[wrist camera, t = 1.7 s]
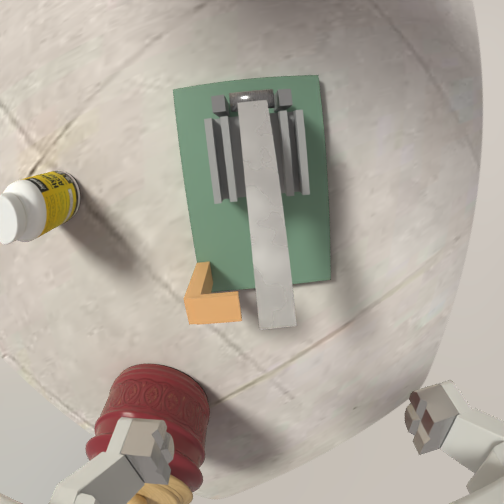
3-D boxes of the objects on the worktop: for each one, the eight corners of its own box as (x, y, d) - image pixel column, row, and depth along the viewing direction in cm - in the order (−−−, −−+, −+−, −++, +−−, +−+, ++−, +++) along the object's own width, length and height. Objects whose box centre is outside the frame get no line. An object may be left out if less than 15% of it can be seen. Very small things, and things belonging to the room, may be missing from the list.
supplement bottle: (84, 172, 27) (25, 191, 18) (80, 225, 29) (25, 261, 20) (43, 166, 27) (-20, 183, 18) (40, 216, 29) (-18, 246, 19)
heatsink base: (175, 91, 25) (155, 79, 19) (315, 77, 25) (334, 61, 19) (204, 288, 32) (194, 323, 26) (328, 275, 31) (345, 307, 25)
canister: (126, 344, 34) (70, 465, 18) (226, 385, 36) (219, 515, 20) (107, 405, 38) (68, 504, 21) (191, 437, 40) (177, 541, 24)
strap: (230, 101, 21) (228, 89, 20) (271, 97, 21) (272, 85, 20) (251, 329, 18) (250, 331, 17) (303, 324, 18) (306, 324, 17)
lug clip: (197, 262, 29) (183, 299, 23) (239, 258, 29) (238, 295, 23) (200, 284, 30) (189, 325, 23) (242, 280, 30) (241, 321, 23)
